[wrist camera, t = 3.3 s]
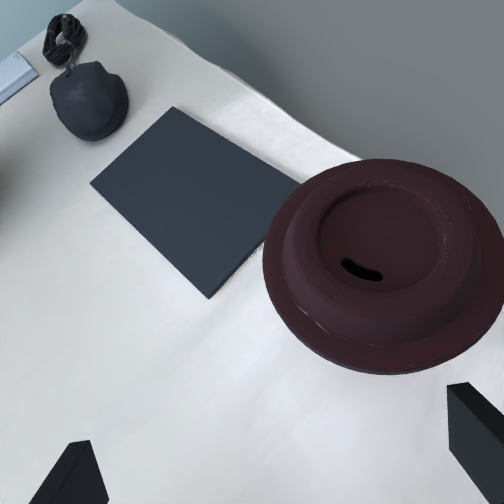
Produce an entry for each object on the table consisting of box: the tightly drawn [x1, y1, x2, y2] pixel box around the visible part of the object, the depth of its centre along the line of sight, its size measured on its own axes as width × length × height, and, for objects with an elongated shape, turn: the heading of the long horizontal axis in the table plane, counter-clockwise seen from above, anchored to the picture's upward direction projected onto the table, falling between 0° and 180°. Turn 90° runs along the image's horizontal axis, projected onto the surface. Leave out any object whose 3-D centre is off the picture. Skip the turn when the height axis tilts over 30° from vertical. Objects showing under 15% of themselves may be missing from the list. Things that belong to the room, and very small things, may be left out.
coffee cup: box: [262, 159, 504, 375], centre depth 19 cm, size 10×10×15 cm
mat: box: [90, 106, 302, 299], centre depth 36 cm, size 22×14×1 cm, turn 46°
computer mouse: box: [42, 14, 128, 141], centre depth 48 cm, size 10×32×6 cm, turn 28°
